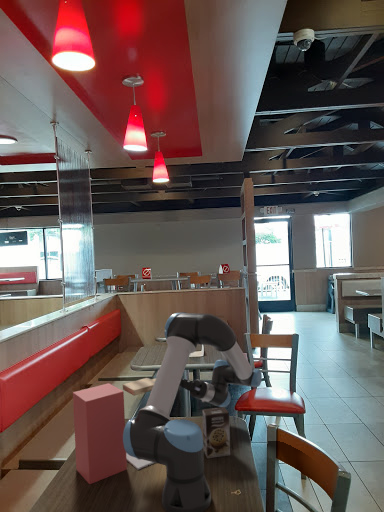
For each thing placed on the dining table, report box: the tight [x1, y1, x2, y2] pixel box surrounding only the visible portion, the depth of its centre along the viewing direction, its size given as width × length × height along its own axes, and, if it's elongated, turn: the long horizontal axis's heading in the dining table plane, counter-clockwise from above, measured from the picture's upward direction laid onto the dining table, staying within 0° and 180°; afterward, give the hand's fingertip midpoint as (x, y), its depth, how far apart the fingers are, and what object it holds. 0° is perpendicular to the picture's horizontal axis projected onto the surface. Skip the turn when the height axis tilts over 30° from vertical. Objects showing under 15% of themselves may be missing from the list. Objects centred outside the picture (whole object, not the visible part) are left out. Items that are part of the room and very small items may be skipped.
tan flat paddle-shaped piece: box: [122, 377, 156, 397], centre depth 157 cm, size 23×9×2 cm, turn 127°
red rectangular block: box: [72, 383, 128, 485], centre depth 143 cm, size 14×12×28 cm
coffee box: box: [202, 407, 231, 459], centre depth 151 cm, size 9×6×16 cm
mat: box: [126, 452, 155, 471], centre depth 157 cm, size 28×18×1 cm, turn 127°
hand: (160, 374), depth 158 cm, fingers closed on tan flat paddle-shaped piece, 3 cm apart
